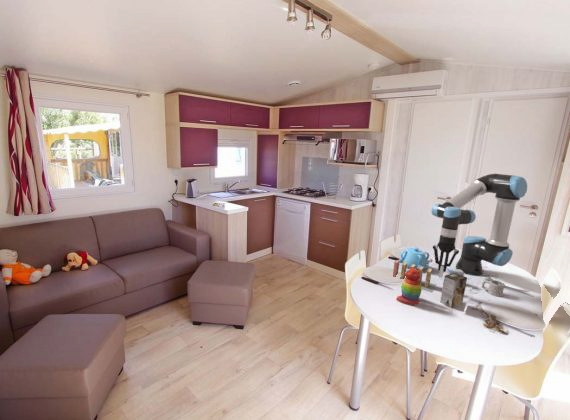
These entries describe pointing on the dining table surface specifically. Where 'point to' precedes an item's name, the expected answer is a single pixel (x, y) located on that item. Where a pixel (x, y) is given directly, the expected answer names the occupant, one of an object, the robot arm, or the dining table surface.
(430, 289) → the domino mat
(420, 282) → the domino
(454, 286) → the coffee box
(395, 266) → the domino
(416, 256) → the decorative pot
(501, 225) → the robot arm
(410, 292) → the stacking bear
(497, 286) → the mug
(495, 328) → the frog figurine
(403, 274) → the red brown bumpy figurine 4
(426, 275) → the domino
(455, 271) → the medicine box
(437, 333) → the dining table surface
